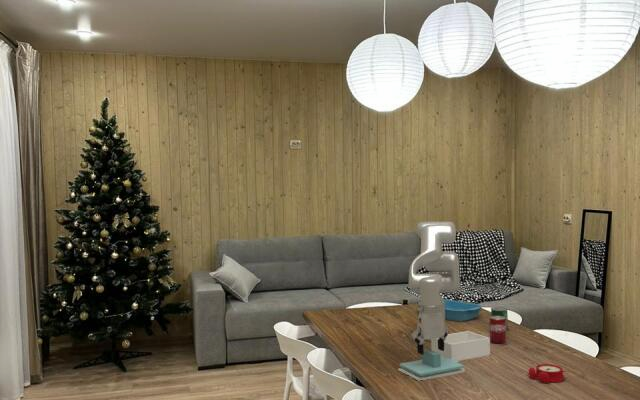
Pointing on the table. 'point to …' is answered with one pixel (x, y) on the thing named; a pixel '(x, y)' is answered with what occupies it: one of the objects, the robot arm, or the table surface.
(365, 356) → the table surface
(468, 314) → the casserole dish
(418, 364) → the lid
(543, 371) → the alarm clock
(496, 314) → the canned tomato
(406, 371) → the mat
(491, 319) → the soda can
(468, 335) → the tub
